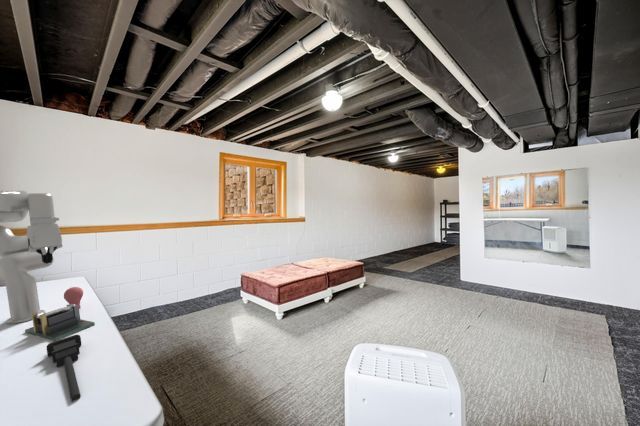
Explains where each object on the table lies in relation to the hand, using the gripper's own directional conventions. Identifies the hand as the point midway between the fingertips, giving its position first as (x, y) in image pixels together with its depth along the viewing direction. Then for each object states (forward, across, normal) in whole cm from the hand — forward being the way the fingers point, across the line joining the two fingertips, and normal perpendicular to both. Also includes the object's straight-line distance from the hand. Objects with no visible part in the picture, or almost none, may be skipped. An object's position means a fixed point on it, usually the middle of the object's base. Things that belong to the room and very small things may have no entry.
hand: (47, 262), depth 117 cm
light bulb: (+28, -11, -8) cm, 31 cm away
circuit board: (+27, +2, +10) cm, 29 cm away
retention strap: (+20, +2, +10) cm, 23 cm away
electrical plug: (+26, +16, +52) cm, 60 cm away
